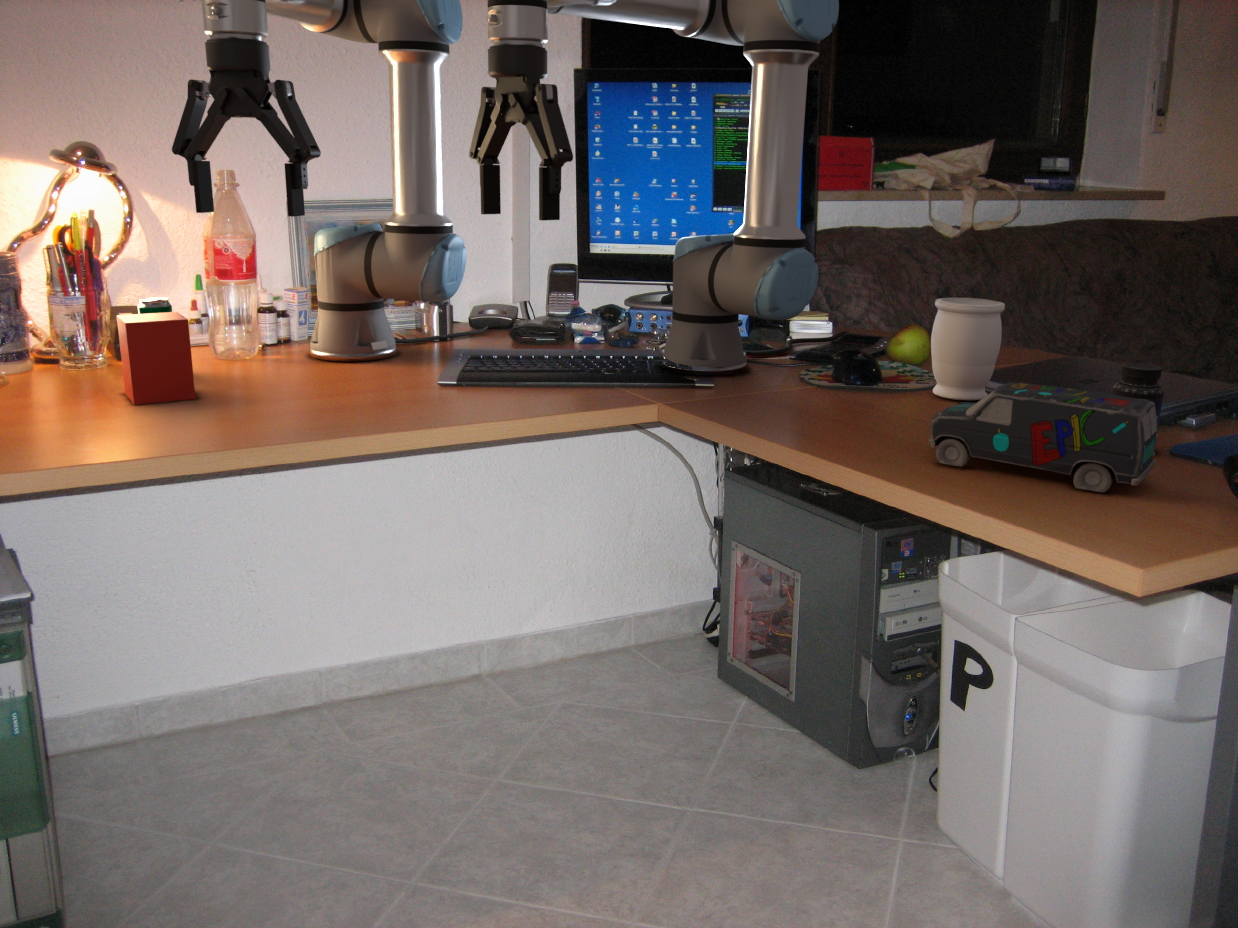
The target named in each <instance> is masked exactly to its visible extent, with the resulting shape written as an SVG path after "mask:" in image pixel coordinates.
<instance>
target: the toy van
mask: <svg viewBox="0 0 1238 928" xmlns="http://www.w3.org/2000/svg"><path fill="white" fill-rule="evenodd" d="M987 394H988V395H987V396H986V397H984V398H983V399H981V400H978V401H977V402H968V401H963V402H959V403H957V404H954V405H951V406H948V407H946V408H944V409H942V410H941V411H938V412H937V413H936V414H934V415H932V416H931V420H930V438H928V442H929V445H930V448H935V449H936V450H935V458H936V459H937V461H938V463H940V464H944V465H948V466H954V467H961V468H962V467H964V466H966V465H967V463H968V462H969V460H970V457H972V458H976V459H977V458H978V459H983V460H987V461H994V462H1000V463H1004V464H1005V463H1006V464H1009V465H1010V464H1011V465H1017V466H1022V467H1027V468H1033V469H1038V470H1043V471H1048V472H1052V473H1053V472H1054V473H1058V474H1063V475H1068V476H1071V475H1073V474H1074V475H1073V480H1072V481H1073V482H1072V483H1073V485H1074V488H1075V489H1079V490H1085V491H1091V492H1096V493H1106V492H1107V491H1109V490H1110V488H1111V487H1112V484H1113V482H1114V481H1116V483H1118V484H1119V483H1121V484H1128V485H1131V486H1138V485H1140V483H1142V482H1143V481H1144V480H1145V479H1146V477H1147V476H1148V475H1149V473H1150V472H1151V471H1152V470H1153V468H1155V467H1154V466H1155V465H1156V463H1157V461H1156V460H1155V459H1154V456H1155V455H1156V452H1155V450H1156V444H1157V440H1158V437H1159V433H1158V431H1159V430H1157V421H1156V410H1155V403H1154V402H1152V401H1148V400H1141V399H1135V398H1128V397H1122V396H1115V395H1111V394H1108V393H1101V392H1095V391H1089V390H1082V389H1075V388H1070V387H1069V388H1067V387H1060V386H1053V385H1046V384H1037V383H1035V384H1034V383H1025V382H1007V383H1004V384H1001V385H999V386H997V387H996V388H995V389H994V390H992V391H991V392H990V393H987Z"/></svg>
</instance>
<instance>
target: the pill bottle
mask: <svg viewBox="0 0 1238 928" xmlns="http://www.w3.org/2000/svg"><path fill="white" fill-rule="evenodd" d="M1162 371H1163V367H1161V366H1158V365H1155V364H1149V363H1142V362H1141V363H1140V362H1126V363H1122V365H1121V369H1120V375H1121V380H1119V381H1116V382H1115V383H1114V384H1113V385H1112V388H1111V394H1110V395H1115V396H1122V397H1128V398H1135V399H1141V400H1148V401H1152V402H1154V403H1155V410H1156V421H1157V430H1158V428H1159V424H1160V419H1161V418H1160V417H1161V412H1162V407H1163V399H1164V395H1165V391H1164V389H1163V387H1162V386H1161V385H1159V383H1158V381H1159V380H1160V379H1161V377H1162ZM1158 431H1159V430H1158Z"/></svg>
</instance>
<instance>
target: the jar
mask: <svg viewBox="0 0 1238 928" xmlns="http://www.w3.org/2000/svg"><path fill="white" fill-rule="evenodd" d="M934 301H935V302H934V306H935V307H936V308H937V312H936V315H935V318H934V320H933V325H932V328H931V329H932V330H931V336H930V353H931V370H932V374H933V377H934V380H935V382H936V384H935V386H934V387H933V388H932V393H933V394H934V395H935V396H938V397H940V398H944V399H950V400H956V401H980V400H982V399H983V398H984V397H986V396H987V395H988V394H989V393H988V392H987V393H986V392H985V389H986V386H987V385H988V383H989V382H990V381H991V379H992V376H993V375H994V371H995V367H996V362H997V360H998V357H999V355H1000V350H1001V343H1002V338H1003V337H1002V334H1003V333H1002V331H1003V325H1002V319H1001V313H1002V312H1004V311H1005V309H1006V304H1005V302H1001V301H997V300H992V299H988V298H987V299H986V298H978V297H977V298H976V297H941V298H937V299H935V300H934Z"/></svg>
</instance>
